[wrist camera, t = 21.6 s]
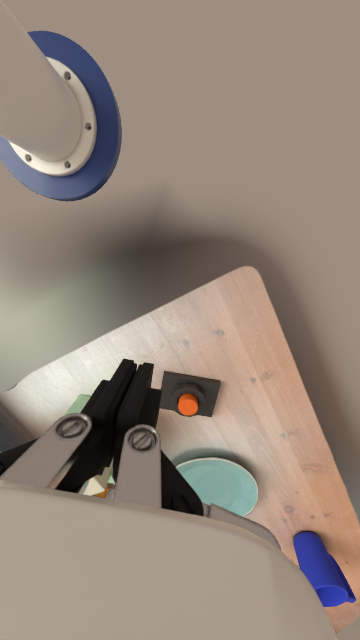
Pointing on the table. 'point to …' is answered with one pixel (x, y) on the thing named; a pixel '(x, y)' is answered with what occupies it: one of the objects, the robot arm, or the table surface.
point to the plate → (221, 483)
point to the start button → (188, 404)
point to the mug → (322, 570)
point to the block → (182, 384)
